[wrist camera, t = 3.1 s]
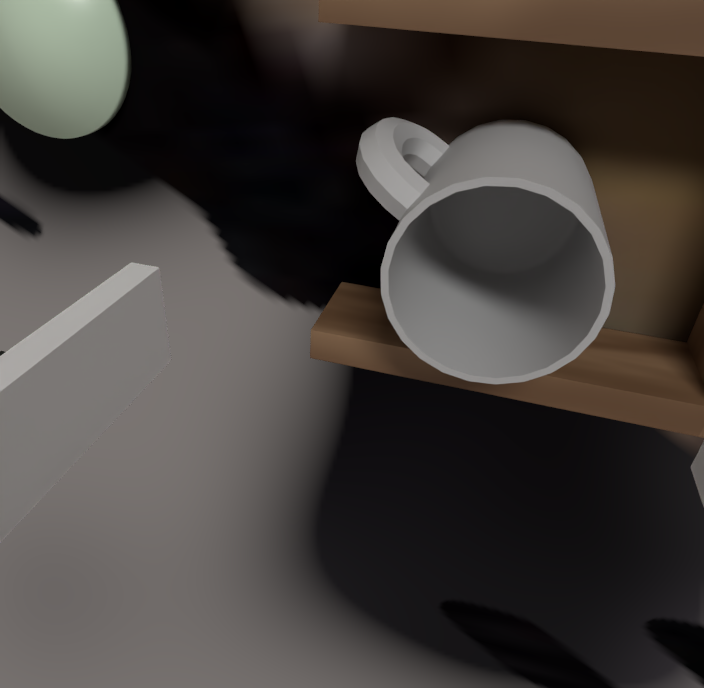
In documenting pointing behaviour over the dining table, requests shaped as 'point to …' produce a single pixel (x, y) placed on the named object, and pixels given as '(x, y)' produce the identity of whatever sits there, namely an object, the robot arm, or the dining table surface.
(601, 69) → the dining table surface
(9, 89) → the pale smooth rounded piece
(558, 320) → the cup
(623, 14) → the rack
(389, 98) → the dining table surface
